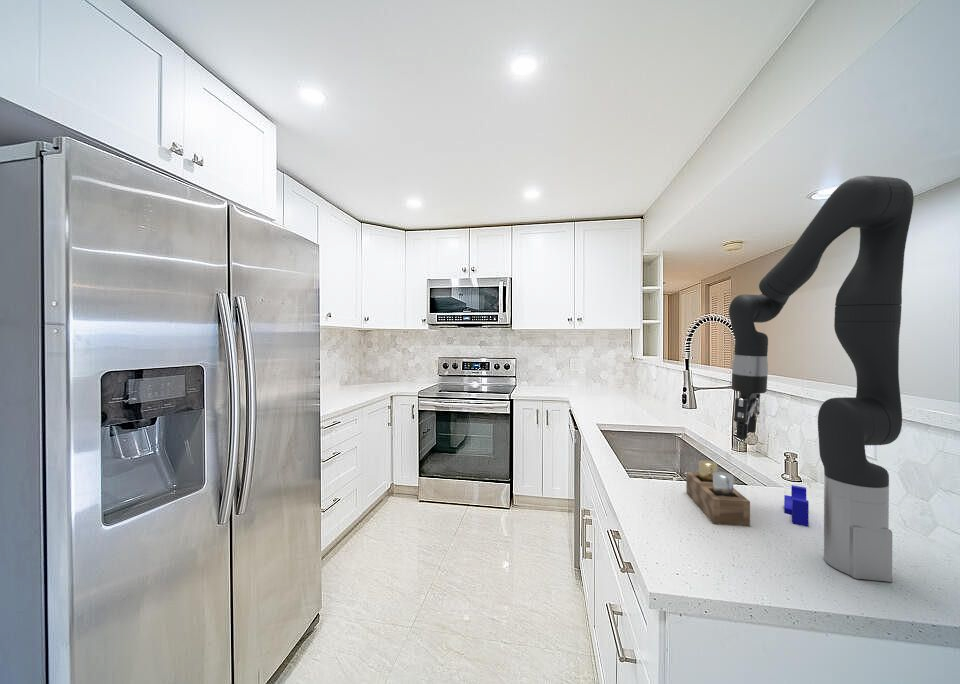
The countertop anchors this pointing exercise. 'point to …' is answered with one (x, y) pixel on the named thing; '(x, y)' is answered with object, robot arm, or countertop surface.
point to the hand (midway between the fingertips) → (746, 435)
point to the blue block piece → (797, 505)
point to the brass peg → (707, 470)
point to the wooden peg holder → (718, 503)
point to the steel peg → (723, 484)
